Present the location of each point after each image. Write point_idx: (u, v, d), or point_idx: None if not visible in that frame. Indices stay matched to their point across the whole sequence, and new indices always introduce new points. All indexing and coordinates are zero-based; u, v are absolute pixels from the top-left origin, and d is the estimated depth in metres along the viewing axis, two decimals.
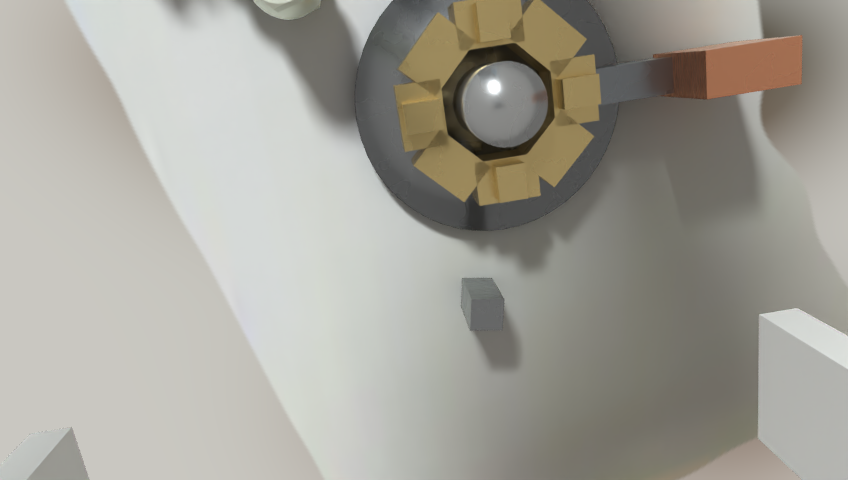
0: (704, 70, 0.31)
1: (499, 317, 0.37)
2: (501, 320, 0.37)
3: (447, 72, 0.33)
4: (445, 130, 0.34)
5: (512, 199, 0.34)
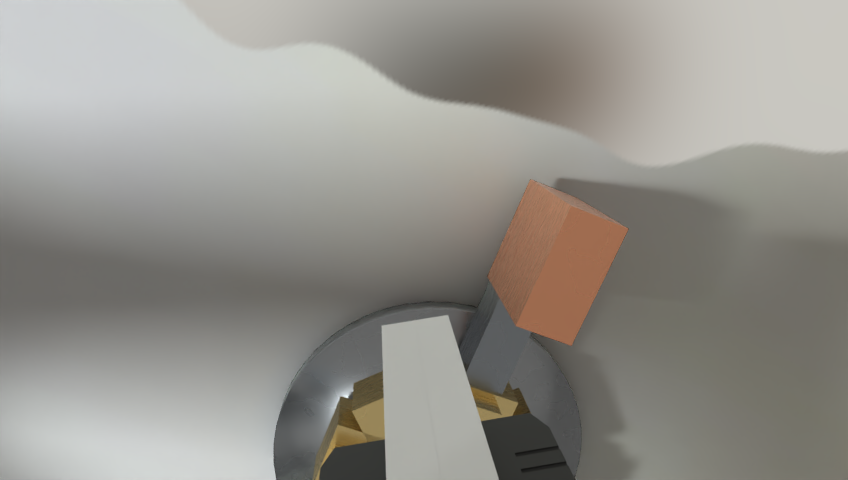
0: (537, 332, 0.24)
1: None
2: None
3: None
4: None
5: None
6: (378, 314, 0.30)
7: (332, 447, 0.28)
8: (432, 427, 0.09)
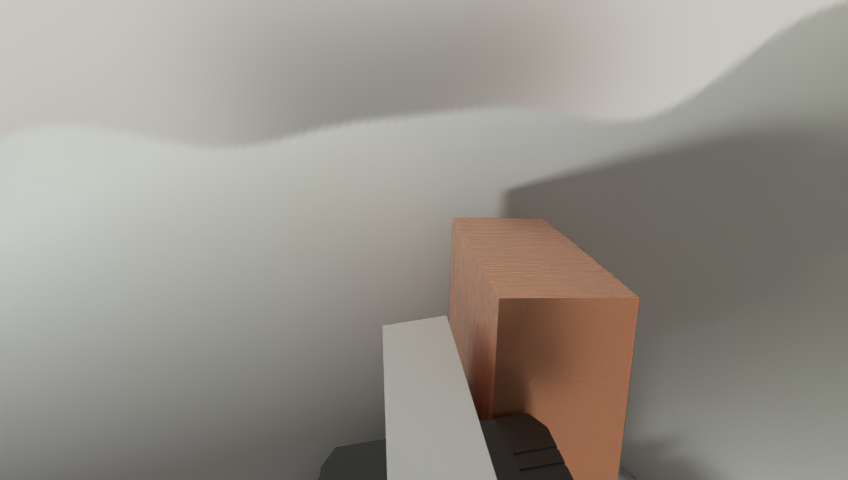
0: None
1: None
2: None
3: None
4: None
5: None
6: None
7: None
8: (433, 427, 0.09)
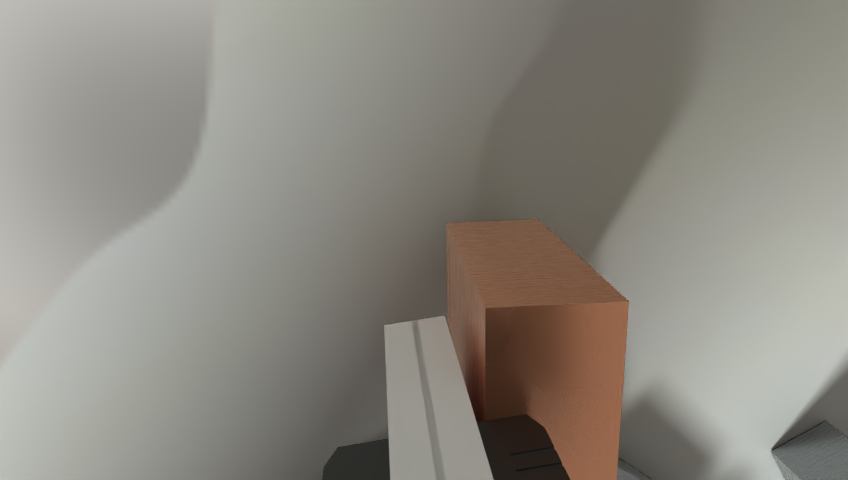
0: None
1: None
2: None
3: None
4: None
5: None
6: None
7: None
8: (436, 426, 0.09)
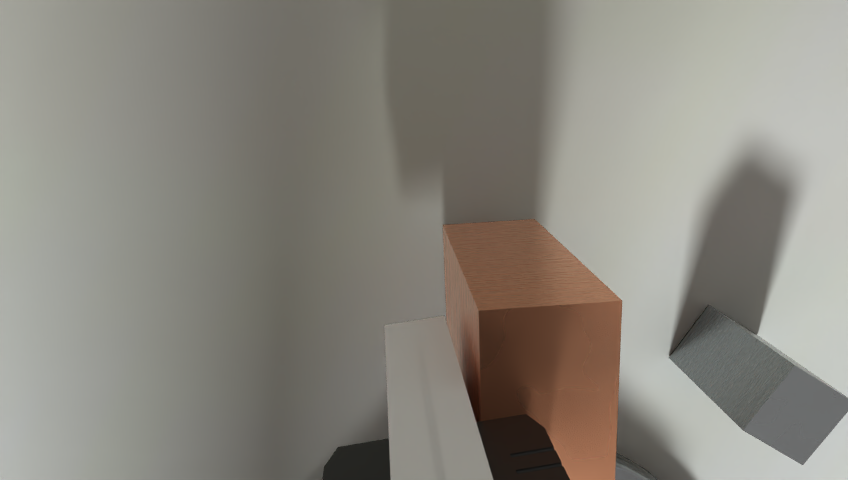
0: None
1: (780, 396, 0.15)
2: (781, 387, 0.15)
3: None
4: None
5: None
6: None
7: None
8: (436, 426, 0.09)
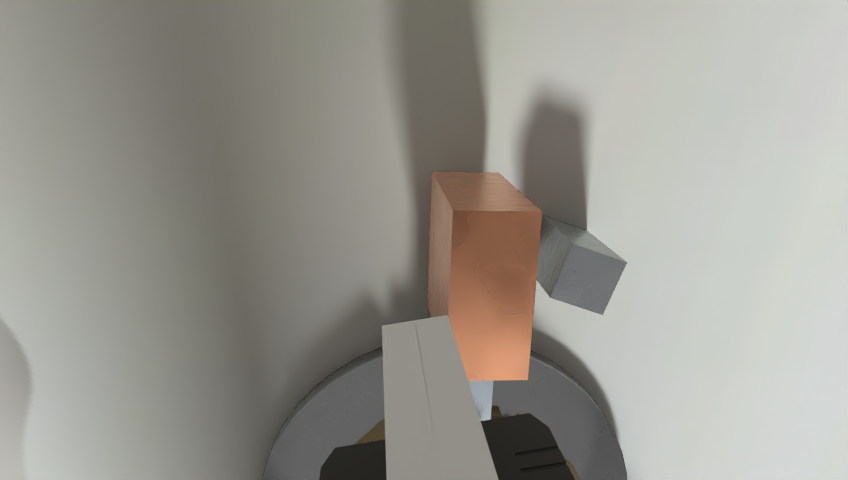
0: (477, 377, 0.18)
1: (570, 268, 0.21)
2: (568, 261, 0.20)
3: None
4: None
5: None
6: None
7: None
8: (432, 427, 0.09)
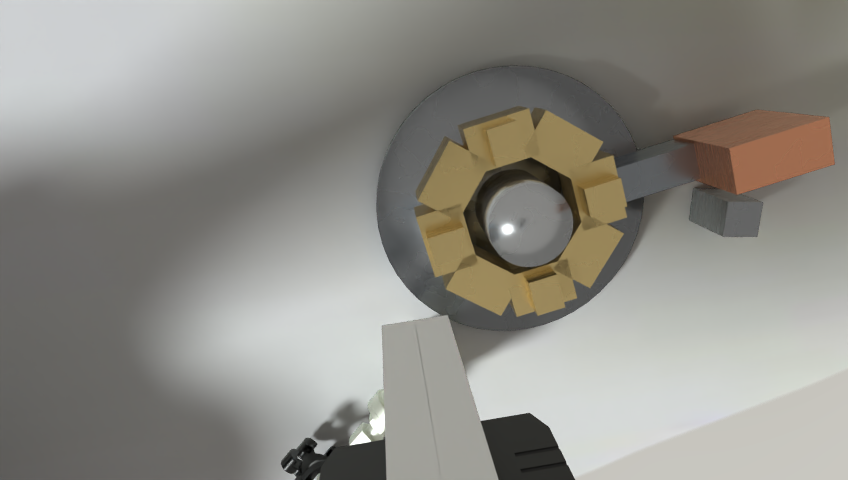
0: (730, 166, 0.30)
1: (748, 206, 0.34)
2: (751, 203, 0.34)
3: (467, 196, 0.33)
4: (472, 251, 0.34)
5: (549, 310, 0.34)
6: (408, 116, 0.35)
7: (508, 118, 0.32)
8: (432, 427, 0.09)
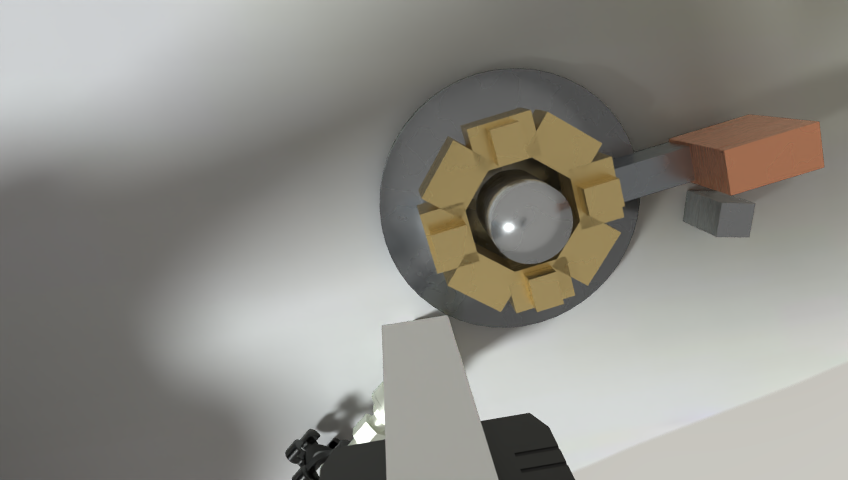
0: (725, 168, 0.31)
1: (740, 207, 0.35)
2: (744, 205, 0.35)
3: (469, 195, 0.34)
4: (474, 248, 0.35)
5: (548, 307, 0.35)
6: (412, 116, 0.36)
7: (510, 119, 0.33)
8: (432, 427, 0.09)
